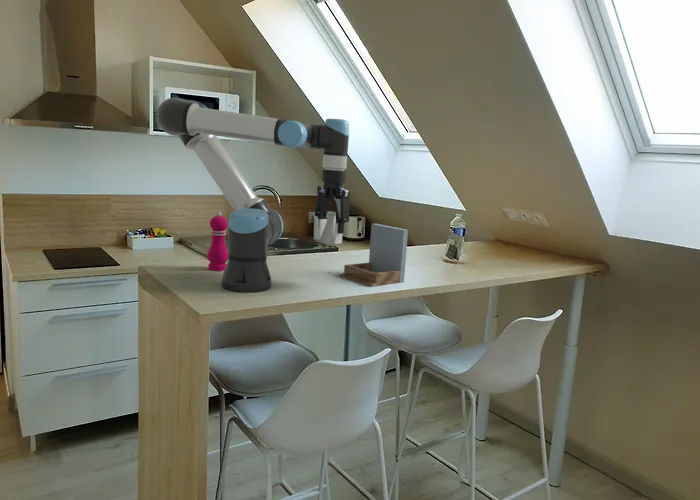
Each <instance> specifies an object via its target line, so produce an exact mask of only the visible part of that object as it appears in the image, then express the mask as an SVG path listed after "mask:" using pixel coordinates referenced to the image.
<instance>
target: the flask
mask: <svg viewBox="0 0 700 500" xmlns="http://www.w3.org/2000/svg"><path fill="white" fill-rule="evenodd" d="M326 217H327V222H326V225H325V228H324V231H323V233H322V235H321V238H320V240H319V239H318V240H319V241H318V243H320V244H325V245H336V244H334V232H335V222H336V221H337V219H336V213H335V211H328V212H327V216H326Z"/></svg>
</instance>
